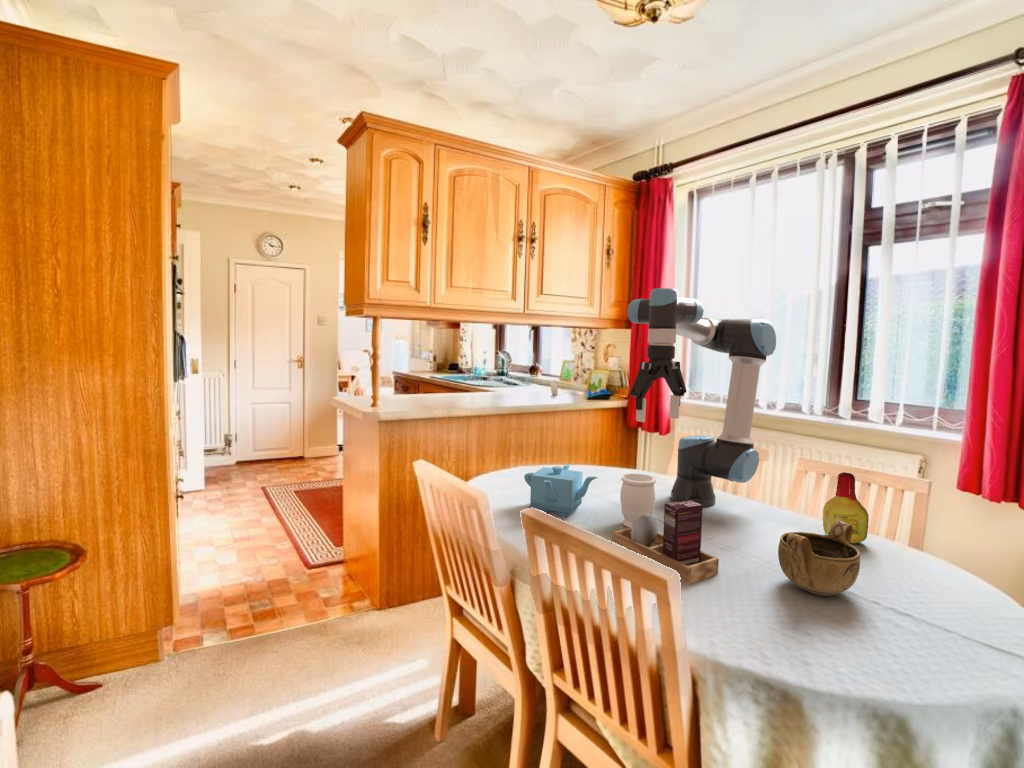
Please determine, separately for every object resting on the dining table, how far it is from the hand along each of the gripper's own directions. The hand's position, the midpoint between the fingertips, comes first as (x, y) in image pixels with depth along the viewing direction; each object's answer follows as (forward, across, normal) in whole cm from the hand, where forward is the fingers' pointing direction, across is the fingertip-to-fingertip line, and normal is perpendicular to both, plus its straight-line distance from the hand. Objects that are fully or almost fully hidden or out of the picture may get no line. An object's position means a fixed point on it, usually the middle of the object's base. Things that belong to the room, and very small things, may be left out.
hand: (657, 419), depth 157 cm
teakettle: (+35, +9, -32) cm, 48 cm away
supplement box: (+34, +9, +18) cm, 40 cm away
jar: (+35, -4, -10) cm, 37 cm away
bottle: (+35, -49, +29) cm, 67 cm away
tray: (+35, +9, +12) cm, 38 cm away
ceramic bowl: (+35, -10, +42) cm, 55 cm away
